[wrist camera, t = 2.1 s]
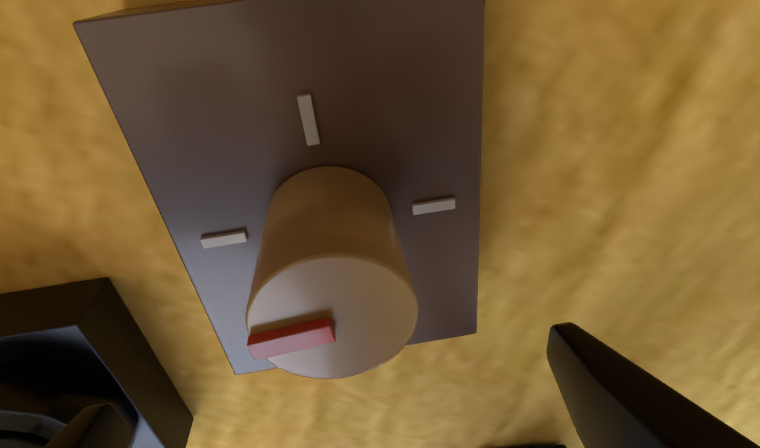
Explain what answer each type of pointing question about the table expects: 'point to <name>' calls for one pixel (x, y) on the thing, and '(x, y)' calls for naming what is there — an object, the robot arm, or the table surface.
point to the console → (303, 132)
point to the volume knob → (330, 278)
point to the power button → (21, 440)
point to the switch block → (83, 365)
